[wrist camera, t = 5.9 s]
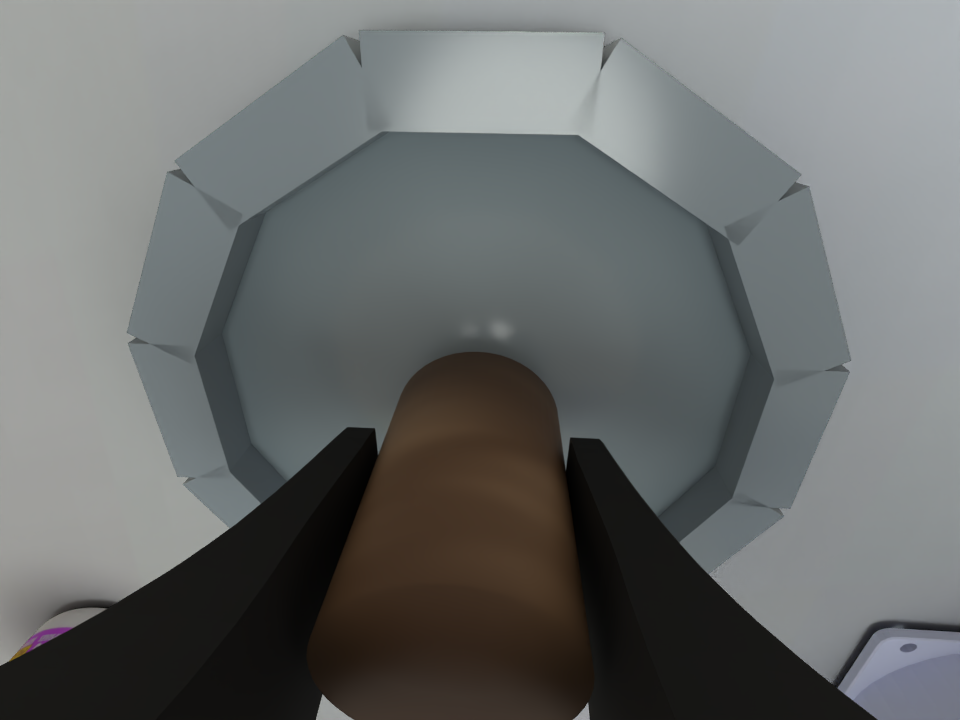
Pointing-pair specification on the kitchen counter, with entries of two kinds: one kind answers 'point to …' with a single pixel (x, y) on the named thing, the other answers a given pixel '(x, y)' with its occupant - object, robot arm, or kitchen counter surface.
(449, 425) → the walnut cylinder
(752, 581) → the kitchen counter surface
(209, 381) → the slate dish
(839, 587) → the kitchen counter surface
